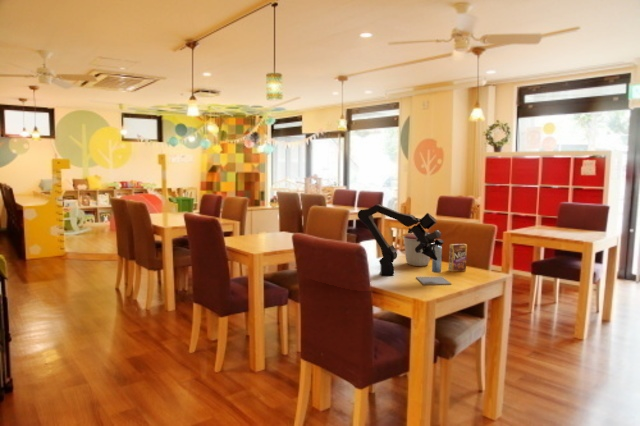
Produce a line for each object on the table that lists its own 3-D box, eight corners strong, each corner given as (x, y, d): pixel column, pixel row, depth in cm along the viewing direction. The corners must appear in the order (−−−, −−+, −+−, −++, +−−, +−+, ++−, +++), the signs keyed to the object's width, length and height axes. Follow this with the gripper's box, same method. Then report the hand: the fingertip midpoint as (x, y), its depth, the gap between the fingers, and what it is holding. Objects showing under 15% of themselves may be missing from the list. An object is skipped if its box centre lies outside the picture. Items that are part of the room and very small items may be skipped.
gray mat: (423, 284, 220) (423, 283, 220) (415, 278, 234) (415, 276, 234) (451, 284, 221) (451, 283, 220) (442, 277, 234) (442, 276, 234)
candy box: (452, 272, 248) (452, 245, 247) (448, 270, 252) (449, 243, 251) (466, 271, 250) (467, 244, 249) (462, 269, 254) (463, 243, 253)
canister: (431, 262, 275) (432, 228, 273) (434, 268, 257) (435, 232, 255) (401, 261, 277) (402, 227, 275) (402, 267, 259) (403, 231, 257)
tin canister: (435, 273, 222) (436, 247, 221) (430, 271, 226) (431, 245, 225) (442, 272, 223) (443, 246, 222) (437, 270, 228) (438, 245, 226)
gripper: (420, 226, 219) (439, 252, 212) (441, 223, 232) (459, 247, 225) (407, 240, 225) (424, 265, 218) (427, 236, 238) (445, 260, 231)
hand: (439, 259), depth 223 cm, fingers closed on tin canister, 4 cm apart
